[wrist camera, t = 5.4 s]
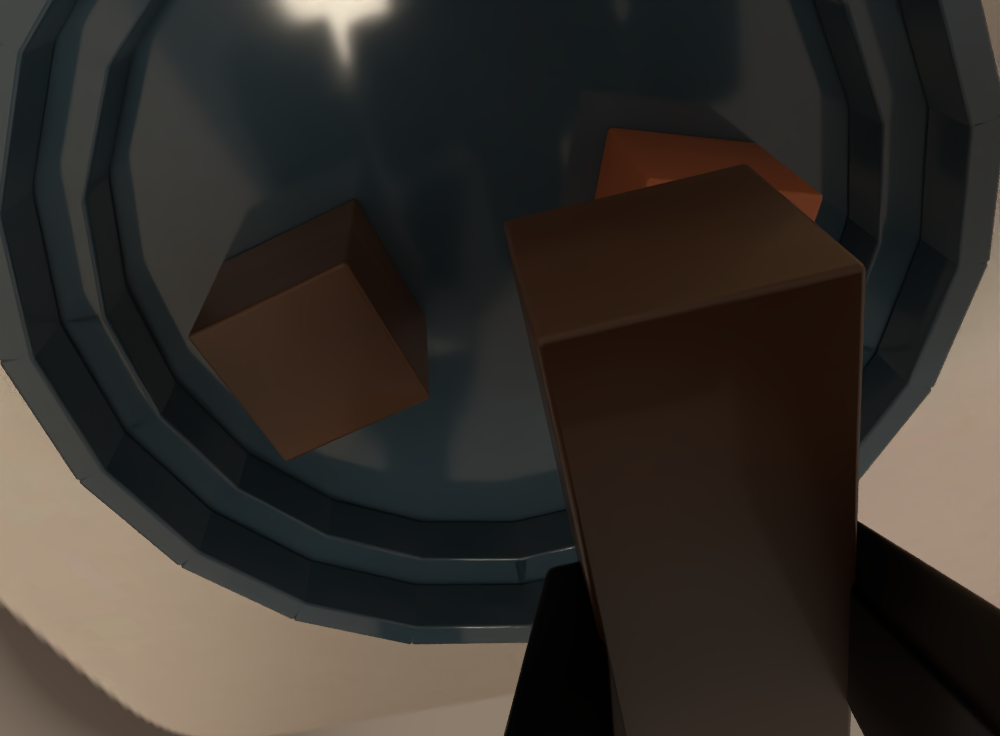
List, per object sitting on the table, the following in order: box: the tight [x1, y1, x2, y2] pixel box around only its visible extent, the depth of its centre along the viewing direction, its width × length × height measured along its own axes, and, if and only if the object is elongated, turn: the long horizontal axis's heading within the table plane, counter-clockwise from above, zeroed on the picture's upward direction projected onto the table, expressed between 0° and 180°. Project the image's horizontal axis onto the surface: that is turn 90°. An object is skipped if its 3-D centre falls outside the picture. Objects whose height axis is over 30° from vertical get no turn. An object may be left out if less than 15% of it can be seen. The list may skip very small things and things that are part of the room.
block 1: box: [188, 199, 430, 461], centre depth 15 cm, size 3×3×3 cm
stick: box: [503, 164, 866, 736], centre depth 9 cm, size 8×2×2 cm, turn 12°
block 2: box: [594, 128, 822, 222], centre depth 15 cm, size 3×3×3 cm
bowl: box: [0, 0, 1000, 644], centre depth 15 cm, size 17×17×3 cm
